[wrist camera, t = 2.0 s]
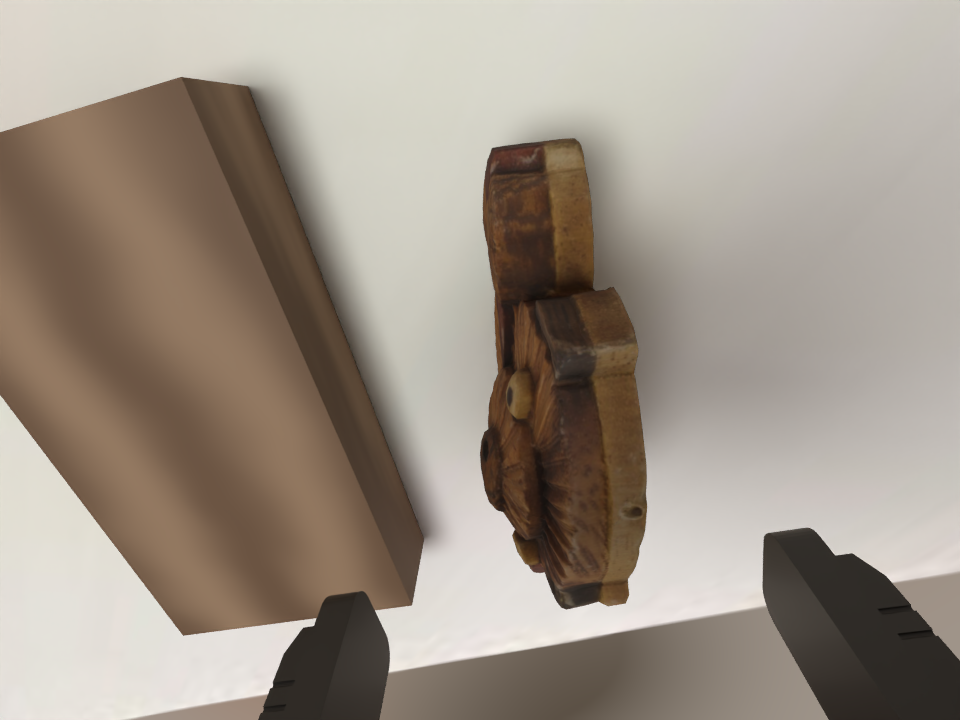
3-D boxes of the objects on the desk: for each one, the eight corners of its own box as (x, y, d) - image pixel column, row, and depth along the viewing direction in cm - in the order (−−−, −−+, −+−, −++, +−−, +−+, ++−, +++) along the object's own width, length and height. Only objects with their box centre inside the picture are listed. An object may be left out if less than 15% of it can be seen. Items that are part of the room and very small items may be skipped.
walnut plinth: (247, 86, 17) (181, 76, 14) (424, 539, 26) (412, 605, 23) (-36, 170, 19) (-162, 181, 15) (223, 569, 28) (183, 635, 24)
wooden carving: (441, 153, 18) (382, 185, 9) (566, 127, 17) (636, 132, 8) (514, 496, 25) (522, 707, 16) (605, 485, 24) (666, 696, 15)
